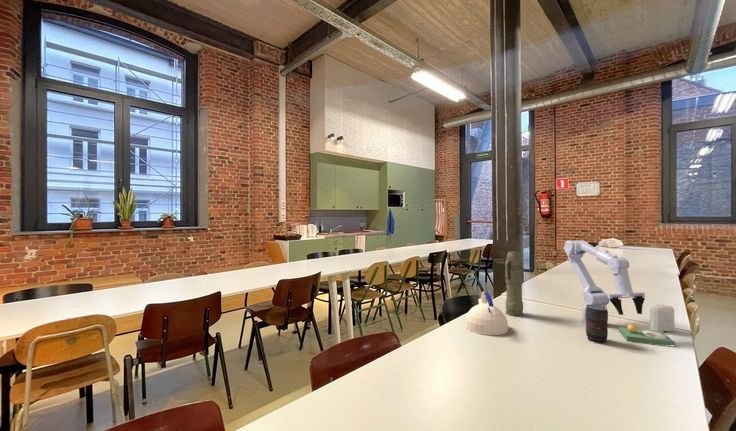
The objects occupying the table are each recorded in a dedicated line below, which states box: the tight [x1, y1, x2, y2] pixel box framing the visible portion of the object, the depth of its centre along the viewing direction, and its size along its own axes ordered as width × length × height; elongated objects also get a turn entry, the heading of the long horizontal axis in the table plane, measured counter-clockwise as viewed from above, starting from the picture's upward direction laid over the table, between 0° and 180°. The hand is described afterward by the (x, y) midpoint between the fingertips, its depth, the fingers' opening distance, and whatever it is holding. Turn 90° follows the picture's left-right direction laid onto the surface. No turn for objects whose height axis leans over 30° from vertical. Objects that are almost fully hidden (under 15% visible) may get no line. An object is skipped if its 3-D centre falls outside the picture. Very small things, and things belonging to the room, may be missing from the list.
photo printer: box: [649, 303, 675, 333], centre depth 154 cm, size 10×4×12 cm, turn 98°
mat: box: [618, 326, 676, 346], centre depth 144 cm, size 16×12×2 cm
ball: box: [626, 324, 639, 333], centre depth 146 cm, size 4×4×4 cm
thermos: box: [504, 250, 524, 317], centre depth 181 cm, size 9×12×35 cm
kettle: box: [464, 291, 509, 336], centre depth 161 cm, size 20×21×18 cm
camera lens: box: [585, 304, 609, 344], centre depth 143 cm, size 8×8×15 cm
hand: (630, 314), depth 147 cm, fingers open, 7 cm apart
